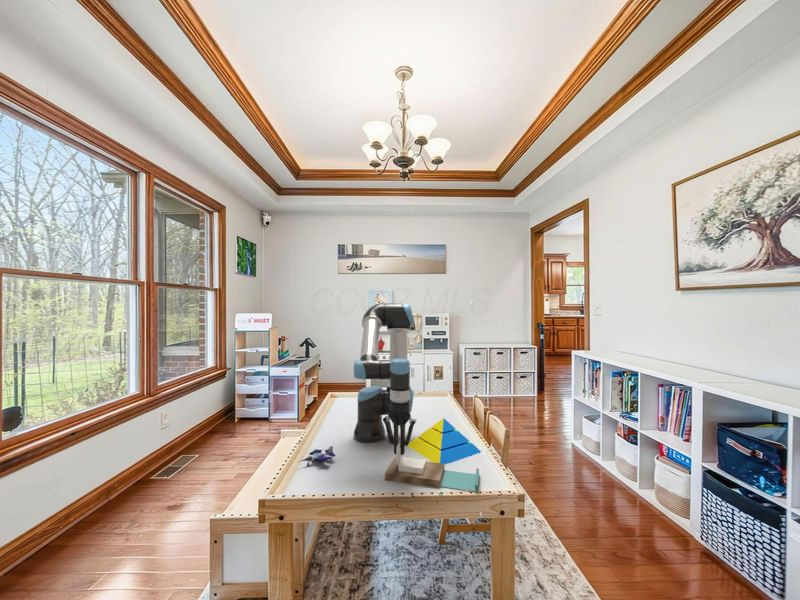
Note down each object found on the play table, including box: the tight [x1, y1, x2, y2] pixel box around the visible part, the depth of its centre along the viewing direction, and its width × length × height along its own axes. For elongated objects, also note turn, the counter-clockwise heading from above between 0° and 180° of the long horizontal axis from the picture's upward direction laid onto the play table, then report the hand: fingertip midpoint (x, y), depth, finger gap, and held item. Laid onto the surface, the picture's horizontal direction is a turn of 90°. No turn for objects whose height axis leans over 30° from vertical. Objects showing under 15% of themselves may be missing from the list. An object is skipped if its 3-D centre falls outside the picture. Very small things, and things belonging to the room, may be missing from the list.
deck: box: [384, 457, 445, 489], centre depth 129 cm, size 20×13×2 cm, turn 75°
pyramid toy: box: [406, 417, 482, 466], centre depth 152 cm, size 25×25×14 cm
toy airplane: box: [298, 445, 336, 467], centre depth 138 cm, size 13×14×4 cm
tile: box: [399, 456, 427, 474], centre depth 129 cm, size 9×7×2 cm
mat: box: [440, 468, 480, 492], centre depth 125 cm, size 13×12×2 cm
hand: (399, 462), depth 130 cm, fingers closed
